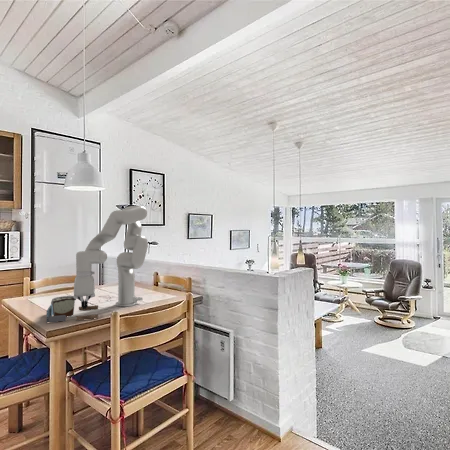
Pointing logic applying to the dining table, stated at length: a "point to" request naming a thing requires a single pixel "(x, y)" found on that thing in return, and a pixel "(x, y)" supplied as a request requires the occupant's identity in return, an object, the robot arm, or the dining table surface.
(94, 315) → the walnut sleeve
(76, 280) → the robot arm
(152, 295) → the dining table surface
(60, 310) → the food container
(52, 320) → the slate stop bracket
